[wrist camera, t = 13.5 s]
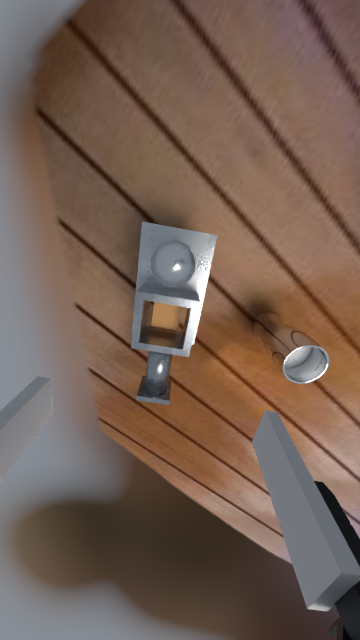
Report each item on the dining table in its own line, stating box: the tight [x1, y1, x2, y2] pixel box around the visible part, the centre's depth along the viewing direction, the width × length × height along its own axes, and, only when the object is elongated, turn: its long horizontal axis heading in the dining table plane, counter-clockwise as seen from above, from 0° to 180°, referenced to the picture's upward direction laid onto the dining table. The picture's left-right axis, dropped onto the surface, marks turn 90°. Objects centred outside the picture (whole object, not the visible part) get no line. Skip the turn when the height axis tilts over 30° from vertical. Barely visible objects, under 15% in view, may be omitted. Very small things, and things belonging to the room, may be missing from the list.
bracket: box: [131, 283, 201, 405], centre depth 30 cm, size 17×8×5 cm, turn 171°
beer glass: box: [253, 312, 329, 384], centre depth 37 cm, size 7×7×15 cm
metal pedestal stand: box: [132, 222, 217, 345], centre depth 32 cm, size 16×10×18 cm, turn 170°
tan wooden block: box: [151, 302, 182, 330], centre depth 36 cm, size 4×4×12 cm
